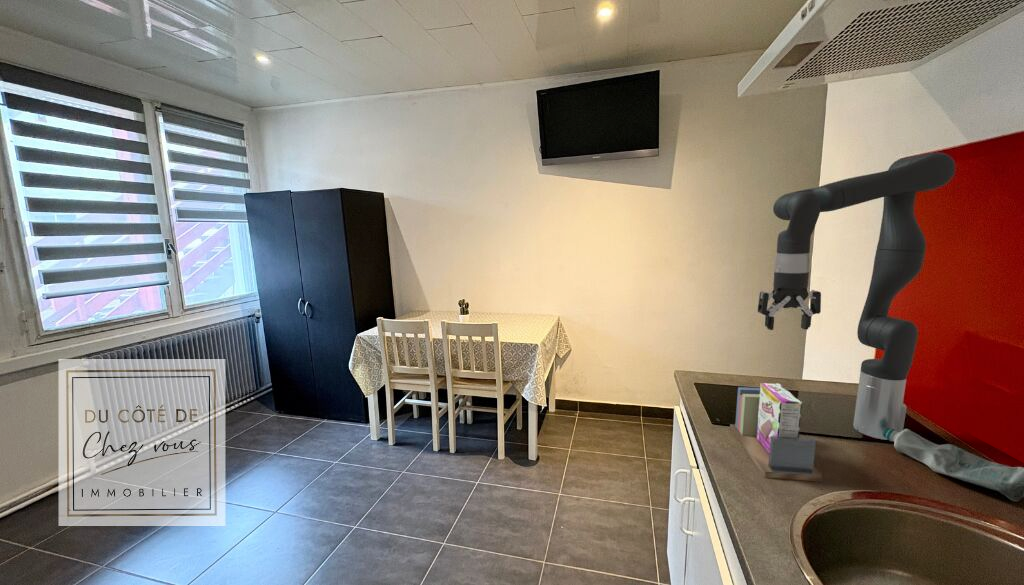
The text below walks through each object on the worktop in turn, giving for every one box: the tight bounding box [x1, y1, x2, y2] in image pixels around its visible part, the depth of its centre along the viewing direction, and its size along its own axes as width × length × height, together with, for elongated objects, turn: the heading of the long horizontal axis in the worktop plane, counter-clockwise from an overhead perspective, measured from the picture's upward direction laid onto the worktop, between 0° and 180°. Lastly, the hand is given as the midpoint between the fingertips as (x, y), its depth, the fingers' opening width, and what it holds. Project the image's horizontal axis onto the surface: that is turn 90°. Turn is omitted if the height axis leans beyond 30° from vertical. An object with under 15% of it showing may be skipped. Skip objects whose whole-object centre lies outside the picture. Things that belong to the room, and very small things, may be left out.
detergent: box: [883, 428, 1024, 503], centre depth 91 cm, size 13×7×25 cm
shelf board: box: [729, 423, 823, 482], centre depth 101 cm, size 12×22×2 cm, turn 170°
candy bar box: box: [756, 382, 803, 453], centre depth 98 cm, size 11×5×16 cm, turn 170°
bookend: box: [768, 436, 817, 475], centre depth 91 cm, size 9×2×8 cm, turn 80°
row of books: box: [734, 386, 760, 436], centre depth 108 cm, size 10×5×12 cm, turn 80°
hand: (787, 329), depth 105 cm, fingers open, 8 cm apart
